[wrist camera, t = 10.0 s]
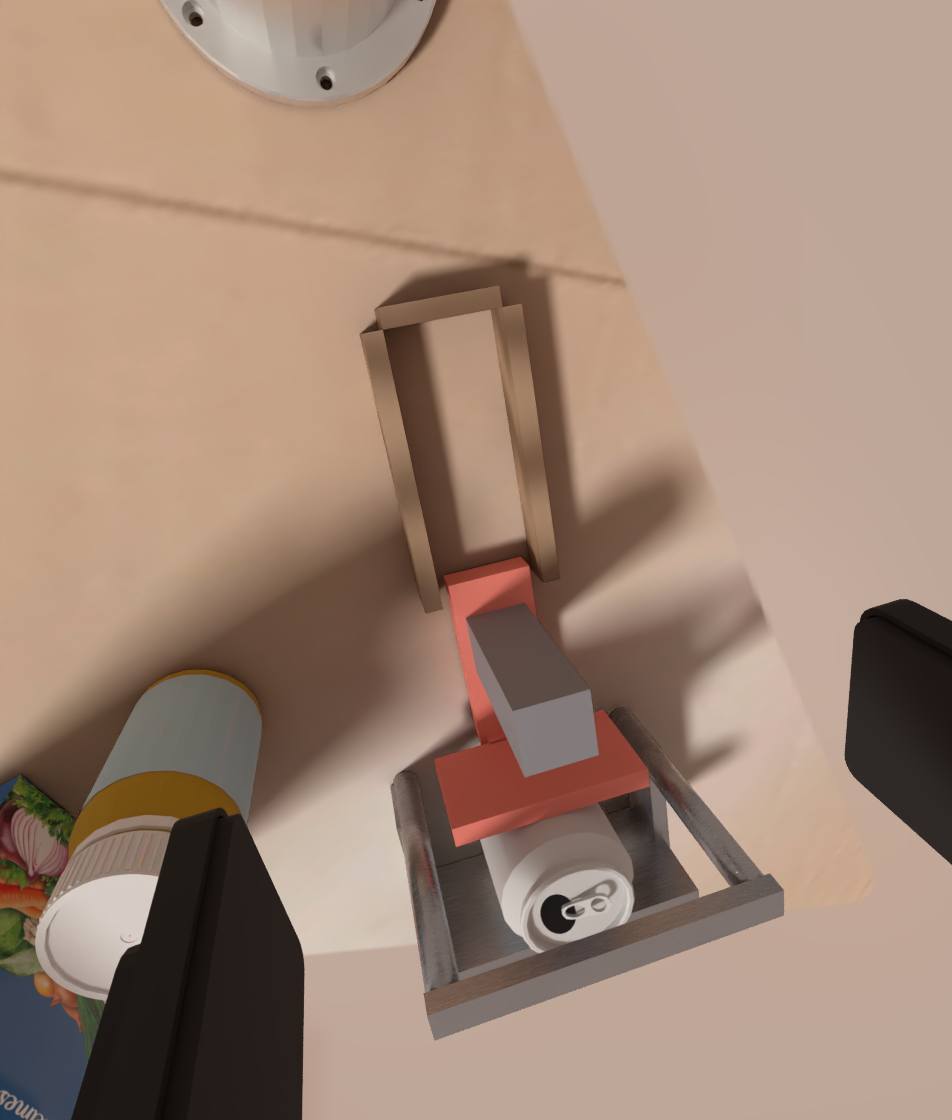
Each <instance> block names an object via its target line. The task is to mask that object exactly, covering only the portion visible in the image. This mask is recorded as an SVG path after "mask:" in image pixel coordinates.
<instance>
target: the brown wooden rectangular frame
mask: <svg viewBox="0 0 952 1120" xmlns="http://www.w3.org/2000/svg"><path fill="white" fill-rule="evenodd" d="M490 309H491V313H492V320H493V326H494V332H495V339H496V345H497V352H498V358H499V365H500V371H501V377H502V384H503V390H504V397H505V403H506V410H507V416H508V422H509V429H510V435H511V442H512V448H513V455H514V461H515V467H516V474H517V480H518V487H519V493H520V500H521V506H522V512H523V519H524V525H525V532H526V538H527V545H528V551H529V557H530V564H531V569H532V570H533V572H534V573H535V574H536V575H537V576H538V577H539V578H540V579H541V580H542V582H543V583H546V582H550V581H553V580H557V579H560V574H559V567H558V560H557V553H556V546H555V538H554V531H553V524H552V517H551V510H550V502H549V495H548V488H547V481H546V473H545V466H544V459H543V452H542V445H541V437H540V430H539V423H538V416H537V409H536V401H535V394H534V387H533V380H532V373H531V365H530V358H529V351H528V344H527V336H526V329H525V322H524V315H523V308H522V304H516V305H511V306H505V307H503V306H502V300H501V293H500V286H499V285H498V286H493V287H487V288H482V289H477V290H471V291H466V292H460V293H455V294H449V295H444V296H438V297H433V298H428V299H422V300H417V301H411V302H406V303H400V304H395V305H389V306H384V307H379V308H377V309H375V315H376V319H377V324H378V329H379V330H378V331H373V332H368V333H362V334H360V338H361V342H362V347H363V351H364V355H365V360H366V364H367V368H368V373H369V377H370V382H371V386H372V390H373V395H374V399H375V403H376V408H377V412H378V417H379V421H380V425H381V430H382V434H383V438H384V443H385V447H386V452H387V456H388V460H389V465H390V469H391V474H392V478H393V482H394V487H395V491H396V495H397V500H398V504H399V509H400V513H401V517H402V522H403V526H404V530H405V535H406V539H407V544H408V548H409V552H410V557H411V561H412V565H413V570H414V574H415V579H416V583H417V587H418V592H419V596H420V599H421V602H422V605H423V607H424V610H425V613H429V612H433V611H437V610H441V609H443V607H442V602H441V598H440V593H439V588H438V584H437V579H436V574H435V570H434V565H433V560H432V556H431V551H430V546H429V542H428V537H427V533H426V528H425V523H424V519H423V514H422V509H421V505H420V500H419V495H418V491H417V486H416V481H415V477H414V472H413V468H412V463H411V458H410V454H409V449H408V444H407V440H406V435H405V430H404V426H403V421H402V416H401V412H400V407H399V403H398V398H397V393H396V389H395V384H394V379H393V375H392V370H391V365H390V361H389V356H388V351H387V347H386V342H385V338H384V333H383V330H384V329H389V328H395V327H400V326H405V325H411V324H416V323H421V322H427V321H432V320H437V319H442V318H448V317H453V316H458V315H464V314H469V313H474V312H479V311H485V310H490Z"/></svg>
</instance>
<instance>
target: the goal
mask: <svg viewBox="0 0 952 1120" xmlns="http://www.w3.org/2000/svg"><path fill="white" fill-rule="evenodd" d="M610 719H611V720H612V722H613V723H614V724H615V726H616V727H617V728H618V730H619V731H620V732H621V734H622V735H623V736H624V738H625V739H626V740H627V742H628V743H629V744H630V746H631V747H632V748H633V750H634V751H635V752H636V754H637V755H638V756H639V758H640V759H641V760H642V762H643V763H644V764H645V766H646V767H647V768H648V774H649V785H650V786H649V787H646V788H643V789H640V790H636V791H633V792H630V793H628V794H629V803H630V807H628V808H625V809H622V810H619V811H616V812H613V813H609V814H606V817H607V819H608V820H609V822H610V824H611V826H612V827H613V829H614V831H615V832H616V834H617V836H618V837H619V839H620V841H621V843H622V844H623V846H624V848H625V849H626V851H627V853H628V854H629V856H630V858H631V860H632V867H633V874H634V876H633V881H632V885H633V889H634V896H635V901H634V905H633V909H632V913H631V915H630V917H629V919H628V920H627V922H626V923H625V924H622V925H620V926H617V927H614V928H611V929H608V930H605V931H602V932H599V933H596V934H594V935H591V936H588V937H585V938H582V939H579V940H576V941H573V942H570V943H568V944H565V945H562V946H559V947H556V948H553V949H550V950H547V951H544V952H542V953H538V952H536V951H534V950H532V949H531V948H530V946H529V945H528V944H527V943H526V942H525V940H524V939H523V937H521V936H519V935H518V934H516V933H514V931H513V930H512V929H511V928H510V926H509V925H508V924H507V923H506V921H505V919H504V916H503V913H502V910H501V906H500V903H499V900H498V897H497V893H496V890H495V887H494V884H493V880H492V877H491V874H490V871H489V867H488V864H487V861H486V858H485V855H484V854H481V855H477V856H474V857H471V858H468V859H465V860H462V861H459V862H455V863H452V864H449V865H446V866H443V867H440V868H436V865H435V860H434V855H433V850H432V846H431V841H430V836H429V831H428V827H427V822H426V817H425V812H424V808H423V803H422V798H421V793H420V789H419V784H418V779H417V776H416V775H415V774H414V773H413V772H410V771H404V772H401V773H399V774H398V775H396V777H395V778H394V780H393V785H392V786H391V793H392V800H393V806H394V813H395V820H396V827H397V831H398V835H399V838H400V842H401V846H402V849H403V853H404V857H405V863H406V870H407V876H408V883H409V889H410V896H411V902H412V909H413V915H414V922H415V928H416V935H417V941H418V948H419V953H420V961H421V967H422V974H423V980H424V987H425V993H424V998H425V1004H426V1011H427V1017H428V1020H429V1023H430V1027H431V1030H432V1033H433V1037H434V1040H438V1039H440V1038H443V1037H446V1036H449V1035H451V1034H454V1033H457V1032H460V1031H463V1030H465V1029H468V1028H471V1027H474V1026H477V1025H479V1024H482V1023H485V1022H488V1021H491V1020H493V1019H496V1018H499V1017H502V1016H505V1015H507V1014H510V1013H513V1012H516V1011H518V1010H521V1009H524V1008H527V1007H529V1006H532V1005H535V1004H538V1003H541V1002H544V1001H546V1000H549V999H552V998H555V997H557V996H560V995H563V994H566V993H569V992H572V991H574V990H577V989H580V988H582V987H585V986H588V985H591V984H594V983H597V982H599V981H602V980H605V979H608V978H611V977H613V976H616V975H619V974H622V973H625V972H627V971H630V970H633V969H636V968H639V967H641V966H644V965H647V964H650V963H652V962H655V961H658V960H661V959H664V958H666V957H669V956H672V955H675V954H678V953H680V952H683V951H686V950H689V949H691V948H694V947H697V946H700V945H702V944H705V943H708V942H711V941H714V940H717V939H719V938H722V937H725V936H728V935H730V934H733V933H736V932H739V931H742V930H745V929H747V928H750V927H752V926H756V925H758V924H761V923H764V922H767V921H770V920H772V919H775V918H778V917H781V916H783V915H784V890H783V889H782V887H781V886H780V885H779V884H778V883H777V881H776V880H775V879H774V878H773V877H772V875H771V874H767V875H763V874H762V873H761V871H760V870H759V869H758V868H757V867H756V865H755V864H754V863H753V862H752V860H751V859H750V858H749V857H748V856H747V854H746V853H745V852H744V851H743V849H742V848H741V847H740V846H739V845H738V843H737V842H736V841H735V840H734V838H733V837H732V836H731V835H730V834H729V832H728V831H727V830H726V829H725V827H724V826H723V825H722V824H721V823H720V821H719V820H718V819H717V818H716V816H715V815H714V814H713V813H712V812H711V810H710V809H709V808H708V807H707V805H706V804H705V803H704V802H703V801H702V799H701V798H700V797H699V796H698V794H697V793H696V792H695V791H694V790H693V788H692V787H691V786H690V785H689V783H688V782H687V781H686V780H685V779H684V777H683V776H682V775H681V774H680V772H679V771H678V770H677V769H676V768H675V766H674V765H673V764H672V763H671V761H670V760H669V759H668V758H667V757H666V755H665V754H664V753H663V752H662V749H661V747H660V746H659V745H658V743H657V742H656V741H655V740H654V739H653V737H652V736H651V735H650V734H649V732H648V731H647V730H646V729H645V728H644V726H643V725H642V724H641V723H640V722H639V720H638V719H637V718H636V717H635V715H634V714H631V713H630V711H629V710H628V709H626V708H619V709H616V710H615V711H613V712H612V714H611V715H610ZM666 800H667V802H668V803H669V804H670V806H671V807H672V808H673V810H674V811H675V812H676V814H677V815H678V816H679V818H680V819H681V820H682V822H683V823H684V824H685V826H686V827H687V829H688V830H689V831H690V833H691V834H692V835H693V837H694V838H695V839H696V841H697V842H698V843H699V845H700V846H701V847H702V849H703V850H704V851H705V853H706V854H707V855H708V857H709V858H710V860H711V861H712V862H713V864H714V865H715V866H716V868H717V869H718V870H719V872H720V873H721V874H722V876H723V877H724V878H725V880H726V881H727V882H728V884H729V885H730V887H729V888H726V889H723V890H721V891H718V892H715V893H712V894H709V895H706V896H703V897H700V898H699V890H698V889H697V887H696V886H695V884H694V883H693V881H692V880H691V878H690V877H689V875H688V874H687V872H686V871H685V869H684V868H683V867H682V865H681V864H680V862H679V861H678V859H677V858H676V856H675V855H674V853H673V852H672V850H671V849H670V843H669V831H668V819H667V808H666Z"/></svg>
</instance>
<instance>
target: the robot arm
mask: <svg viewBox="0 0 952 1120" xmlns="http://www.w3.org/2000/svg"><path fill="white" fill-rule="evenodd" d="M160 2H161V4H162V5H163V7H164V8H165V10H166V11H167V13H168V14H169V16H170V18H171V19H172V21H173V22H174V24H175V25H176V27H177V28H178V30H179V31H180V32H181V33H182V34H183V36H184V37H185V38H186V39H187V40H188V41H189V42H190V44H191V45H192V46H193V47H194V48H195V49H196V50H197V52H198V53H199V54H200V55H201V56H202V57H203V58H204V59H205V60H207V61H208V62H209V63H210V64H211V65H213V66H214V67H215V68H216V69H217V70H219V71H220V72H221V73H222V74H223V75H225V76H226V77H227V78H229V79H230V80H232V81H234V82H235V83H237V84H239V85H241V86H242V87H244V88H246V89H248V90H249V91H251V92H253V93H254V94H257V95H260V96H262V97H265V98H268V99H271V100H274V101H277V102H279V103H282V104H288V105H295V106H302V107H309V108H313V107H326V106H338V105H341V104H344V103H347V102H350V101H353V100H356V99H360V98H362V97H364V96H366V95H368V94H369V93H371V92H373V91H374V90H376V89H378V88H379V87H381V86H383V85H384V84H385V83H386V82H387V81H389V80H390V79H391V78H392V77H393V76H394V75H395V74H396V73H397V72H398V71H399V70H400V69H401V68H402V67H403V66H404V65H405V63H406V62H407V61H408V59H409V58H410V56H411V55H412V53H413V52H414V50H415V49H416V47H417V46H418V44H419V43H420V41H421V38H422V36H423V34H424V32H425V29H426V27H427V25H428V22H429V20H430V18H431V15H432V12H433V9H434V6H435V3H436V0H422V1H418V0H160ZM194 17H200V18H201V19H202V20H203V24H202V25H200V26H198V27H195V26H193V25H191V21H192V19H193V18H194ZM324 79H325V80H329V81H330V82H331V84H332V87H331V89H329V90H324V89H323V88H322V87H321V85H320V83H321V81H322V80H324ZM851 665H852V666H851V679H850V691H849V704H848V718H847V730H846V743H845V761H846V764H847V766H848V768H849V770H850V772H851V773H852V775H853V776H854V777H855V778H856V779H857V780H858V781H859V782H860V783H861V784H862V785H863V786H864V787H865V788H866V789H868V790H869V791H870V792H871V793H872V794H873V795H874V796H875V797H876V798H878V799H879V800H880V801H881V802H882V803H883V804H884V805H885V806H887V807H888V808H889V809H890V810H891V811H892V812H893V813H894V814H895V815H897V816H898V817H899V818H900V819H901V820H902V821H903V822H904V823H906V824H907V825H908V826H909V827H910V828H911V829H912V830H913V831H915V832H916V833H917V834H918V835H919V836H920V837H921V838H922V839H923V840H925V841H926V842H927V843H928V844H929V845H930V846H931V847H932V848H934V849H935V850H936V851H937V852H938V853H939V854H940V855H942V857H944V858H945V859H946V860H947V861H948V862H949V863H950V864H952V621H951V620H949V619H947V618H945V617H943V616H941V615H939V614H937V613H935V612H933V611H931V610H929V609H927V608H925V607H923V606H921V605H919V604H917V603H916V602H913V601H910V600H908V599H899V600H896V601H893V602H890V603H886V604H883V605H880V606H876V607H873V608H870V609H868V610H866V611H864V613H863V614H862V615H861V618H860V622H859V623H857V625H856V626H855V630H854V639H853V651H852V664H851ZM303 1020H304V959H303V953H302V948H301V944H300V942H299V939H298V937H297V935H296V932H295V930H294V928H293V926H292V924H291V921H290V919H289V917H288V915H287V913H286V911H285V908H284V906H283V904H282V902H281V900H280V897H279V895H278V893H277V891H276V889H275V887H274V884H273V882H272V880H271V878H270V876H269V873H268V871H267V869H266V867H265V865H264V863H263V860H262V858H261V856H260V854H259V852H258V850H257V847H256V845H255V843H254V841H253V839H252V836H251V834H250V832H249V830H248V828H247V826H246V823H245V821H244V819H243V818H242V816H241V815H240V814H234V815H231V816H228V814H227V813H226V811H225V810H224V809H223V808H215V809H212V810H209V811H206V812H202V813H199V814H196V815H192V816H189V817H186V818H183V819H179V820H177V821H176V822H175V823H174V825H173V827H172V829H171V833H170V837H169V840H168V844H167V848H166V851H165V855H164V859H163V863H162V866H161V870H160V874H159V877H158V881H157V885H156V888H155V892H154V896H153V899H152V903H151V907H150V911H149V914H148V918H147V922H146V925H145V929H144V933H143V936H142V940H141V943H140V944H137V945H135V946H132V947H130V948H128V949H127V950H126V951H125V953H124V954H123V955H122V956H121V958H120V960H119V963H118V965H117V968H116V970H115V973H114V977H113V980H112V983H111V987H110V990H109V993H108V997H107V1000H106V1003H105V1007H104V1010H103V1014H102V1017H101V1020H100V1024H99V1027H98V1030H97V1034H96V1037H95V1040H94V1044H93V1047H92V1051H91V1054H90V1057H89V1061H88V1064H87V1067H86V1071H85V1074H84V1078H83V1081H82V1084H81V1088H80V1091H79V1094H78V1098H77V1101H76V1104H75V1108H74V1111H73V1115H72V1118H71V1120H302V1086H303V1085H302V1084H303V1026H304V1021H303Z"/></svg>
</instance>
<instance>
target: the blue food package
mask: <svg viewBox="0 0 952 1120" xmlns="http://www.w3.org/2000/svg"><path fill="white" fill-rule="evenodd" d="M75 823H76V820H75V819H74V818H73V817H72V816H71V815H70V814H69V813H68V812H66V811H65V810H64V809H62V808H61V807H60V806H58V805H57V804H56V803H54V802H53V801H52V800H51V799H49V798H48V797H47V796H46V795H44V794H43V793H42V792H40V791H39V790H38V789H36V788H35V787H34V786H33V785H32V784H31V783H30V782H29V781H27V780H26V779H25V778H24V777H23V776H22V775H19V776H17V777H15V778H13V779H12V780H10V781H8V782H6V783H5V784H3V785H1V786H0V1120H71V1118H72V1115H73V1111H74V1108H75V1104H76V1101H77V1098H78V1094H79V1091H80V1088H81V1084H82V1081H83V1078H84V1074H85V1071H86V1067H87V1064H88V1061H89V1057H90V1054H91V1051H92V1047H93V1044H94V1040H95V1037H96V1034H97V1030H98V1027H99V1024H100V1020H101V1017H102V1014H103V1010H104V1007H105V1003H106V1000H98V999H92V998H88V997H84V996H81V995H78V994H76V993H73V992H71V991H69V990H67V989H65V988H63V987H62V986H60V985H59V984H57V983H56V982H55V981H54V980H53V979H51V978H50V977H49V976H48V974H47V973H46V972H45V971H44V969H43V968H42V966H41V964H40V962H39V960H38V957H37V954H36V949H35V938H36V932H37V925H38V923H39V919H40V917H41V915H42V913H43V911H44V909H45V907H46V905H47V903H48V901H49V899H50V897H51V895H52V893H53V890H54V888H55V886H56V884H57V882H58V880H59V878H60V876H61V874H62V873H63V872H64V870H65V868H66V866H67V864H68V862H69V849H68V846H69V839H70V836H71V833H72V830H73V827H74V825H75Z"/></svg>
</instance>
